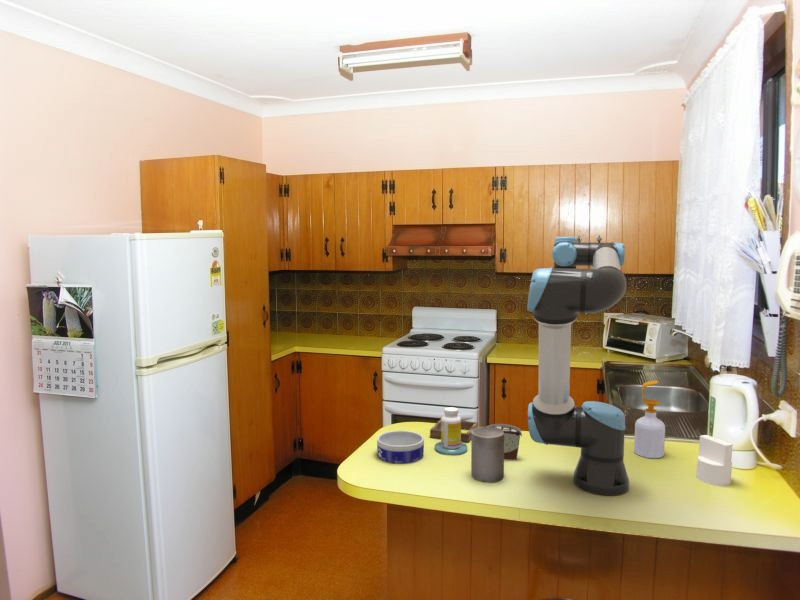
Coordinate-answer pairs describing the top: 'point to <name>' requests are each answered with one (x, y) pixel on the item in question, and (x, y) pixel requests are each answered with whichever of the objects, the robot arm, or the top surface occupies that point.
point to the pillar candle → (487, 454)
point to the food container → (510, 440)
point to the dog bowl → (400, 447)
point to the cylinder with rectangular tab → (714, 461)
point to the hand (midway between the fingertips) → (562, 342)
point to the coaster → (445, 451)
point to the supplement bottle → (451, 429)
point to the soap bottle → (649, 430)
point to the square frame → (465, 425)
